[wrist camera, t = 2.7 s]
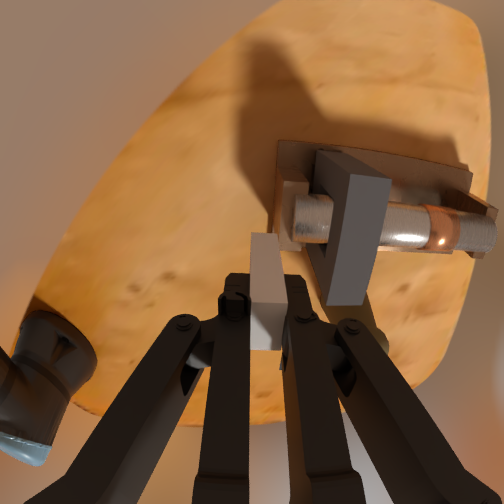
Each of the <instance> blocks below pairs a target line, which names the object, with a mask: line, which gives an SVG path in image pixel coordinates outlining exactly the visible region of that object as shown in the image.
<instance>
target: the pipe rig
mask: <svg viewBox="0 0 504 504" xmlns="http://www.w3.org/2000/svg"><path fill="white" fill-rule="evenodd" d="M317 150H322V151H331V152H340V153H347V154H349V155H351V156H353V157H354V158H356V159H358V160H360V161H362V162H363V163H365V164H367V165H369V166H370V167H372V168H374V169H376V170H377V171H379V172H381V173H382V174H384V175H386V176H387V177H389V178H391V179H392V184H391V189H390V195H389V200H388V205H387V210H386V215H385V219H384V224H383V229H382V233H381V237H380V242H379V246H378V251H400V252H421V253H441V254H452V252H453V250H458V251H465V252H466V253H467V254H468V255H469V256H470V257H471V258H479V259H483V257H484V255H485V252H489V251H490V250H491V249H492V248H493V247H494V245H495V243H496V240H497V226H496V223H495V220H496V217H497V213H498V209H497V208H495V207H493V206H492V205H490V204H489V203H487V202H485V201H484V200H482V199H480V198H478V197H477V196H475V195H473V194H471V193H470V192H469V191H470V187H471V182H472V177H473V173H472V172H470V171H467V170H463V169H459V168H455V167H451V166H447V165H443V164H439V163H435V162H430V161H426V160H421V159H416V158H411V157H406V156H401V155H396V154H390V153H385V152H379V151H373V150H366V149H360V148H353V147H345V146H337V145H329V144H320V143H310V142H300V141H287V140H278V152H277V167H276V181H275V195H274V208H273V221H272V233H274V234H277V236H278V242H279V248H280V250H281V251H301V248H302V247H306V243H326V244H328V238H329V232H330V225H331V219H332V213H333V206H334V199H333V198H332V197H331V196H330V195H321V194H312V190H313V181H314V172H315V162H316V152H317Z"/></svg>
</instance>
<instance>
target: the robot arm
mask: <svg viewBox="0 0 504 504" xmlns="http://www.w3.org/2000/svg"><path fill="white" fill-rule="evenodd" d="M281 346H282V357H281V363H280V369H279V370H282V376H283V389H284V402H285V416H286V429H287V444H288V460H289V476H290V502H289V504H366V500H365V494H364V488H363V483H362V479H361V476H360V474H359V473H358V472H357V471H355V470H354V469H353V468H352V465H351V460H350V454H349V449H348V444H347V439H346V434H345V429H344V423H343V419H342V414H341V409H340V404H339V400H338V397H339V399H340V401H341V403H342V405H343V407H344V409H345V411H346V413H347V415H348V416H349V418H350V420H351V422H352V424H353V426H354V428H355V430H356V432H357V433H358V436H359V437H360V439H361V441H362V443H363V445H364V447H365V449H366V451H367V453H368V455H369V457H370V459H371V461H372V463H373V464H374V466H375V468H376V470H377V472H378V474H379V476H380V478H381V480H382V482H383V484H384V486H385V488H386V490H387V492H388V494H389V496H390V497H391V499H392V501H393V503H394V504H502V501H501V498H500V496H499V495H498V494H497V493H495V492H494V491H493V490H492V489H490V488H489V487H488V486H486V485H485V484H484V483H482V482H481V481H480V480H478V479H477V478H476V477H474V476H473V475H472V474H471V473H469V472H468V471H467V470H465V469H464V467H463V466H462V464H461V462H460V461H459V459H458V458H457V456H456V454H455V453H454V451H453V450H452V448H451V447H450V445H449V443H448V442H447V441H446V439H445V437H444V436H443V434H442V433H441V431H440V430H439V428H438V427H437V425H436V424H435V422H434V421H433V419H432V418H431V416H430V415H429V413H428V412H427V410H426V409H425V407H424V406H423V405H422V403H421V402H420V400H419V399H418V397H417V396H416V394H415V393H414V392H413V390H412V389H411V387H410V386H409V384H408V383H407V382H406V380H405V379H404V377H403V376H402V375H401V373H400V372H399V370H398V369H397V368H396V366H395V365H394V363H393V362H392V361H391V359H390V358H389V357H388V355H387V354H386V352H385V351H384V350H383V348H382V347H381V346H380V344H379V343H378V342H377V340H376V339H375V338H374V336H373V335H372V334H371V332H370V331H369V330H368V328H367V327H366V326H365V325H364V324H363V323H362V322H361V321H359V320H357V319H353V318H345V319H342V320H340V321H339V322H338V324H337V325H335V324H330V323H327V322H324V321H322V320H320V319H319V317H318V315H317V313H315V312H314V311H313V309H312V305H311V301H310V297H309V293H308V289H307V285H306V281H305V280H304V279H303V278H302V277H301V276H300V275H289V274H283V267H282V261H281V254H280V248H279V242H278V236H277V234H274V233H252V232H251V252H250V273H249V274H246V273H230V274H229V275H228V276H227V277H226V279H225V286H224V292H223V293H222V294H221V295H220V296H219V298H218V315H217V316H216V317H214V318H212V319H209V320H205V321H199V319H198V318H197V317H195V316H193V315H190V314H181V315H177V316H175V317H173V318H172V319H171V320H170V321H169V322H168V323H167V325H166V326H165V327H164V329H163V330H162V332H161V333H160V334H159V336H158V337H157V339H156V340H155V342H154V343H153V344H152V346H151V347H150V349H149V350H148V351H147V353H146V354H145V356H144V357H143V359H142V360H141V361H140V363H139V364H138V366H137V367H136V369H135V370H134V372H133V373H132V374H131V376H130V377H129V379H128V380H127V382H126V383H125V385H124V386H123V387H122V389H121V390H120V392H119V393H118V395H117V396H116V398H115V399H114V401H113V402H112V404H111V405H110V407H109V408H108V410H107V411H106V413H105V414H104V416H103V417H102V419H101V420H100V421H99V423H98V425H97V426H96V428H95V429H94V431H93V432H92V434H91V435H90V437H89V438H88V440H87V441H86V443H85V444H84V446H83V447H82V449H81V450H80V452H79V453H78V455H77V457H76V458H75V460H74V461H73V463H72V464H71V466H70V467H69V469H68V471H67V472H66V474H65V475H64V476H62V477H61V478H60V479H58V480H57V481H55V482H54V483H52V484H51V485H50V486H48V487H47V488H45V489H44V490H42V491H41V492H40V493H38V494H36V495H35V496H33V497H32V498H30V499H29V500H27V501H26V502H25V503H24V504H137V502H138V500H139V498H140V496H141V494H142V492H143V490H144V488H145V486H146V484H147V482H148V480H149V479H150V477H151V474H152V473H153V471H154V468H155V467H156V464H157V463H158V461H159V459H160V457H161V455H162V453H163V451H164V449H165V447H166V445H167V443H168V441H169V439H170V437H171V435H172V433H173V431H174V429H175V427H176V425H177V423H178V421H179V419H180V417H181V415H182V413H183V411H184V409H185V407H186V405H187V403H188V401H189V399H190V397H191V395H192V393H193V391H194V389H195V387H196V385H197V383H198V381H199V379H200V377H201V375H202V373H203V371H204V368H205V367H210V366H211V371H210V379H209V386H208V394H207V402H206V410H205V418H204V426H203V434H202V443H201V451H200V460H199V469H198V474H197V475H196V477H195V481H194V487H193V496H192V504H249V411H250V350H281ZM96 366H97V358H96V354H95V352H94V350H93V348H92V346H91V345H90V343H89V342H88V340H87V339H86V338H85V337H84V336H83V335H82V334H81V333H80V332H79V331H78V330H77V329H76V328H75V327H74V326H73V325H71V324H70V323H69V322H67V321H66V320H64V319H62V318H61V317H59V316H57V315H55V314H52V313H50V312H46V311H34V312H32V313H30V314H29V315H28V316H27V318H26V319H25V320H24V322H23V323H22V325H21V328H20V335H19V338H18V340H17V343H16V347H15V351H14V354H13V355H12V357H11V359H10V358H9V356H8V355H7V354H6V353H5V351H4V350H3V349H2V348H1V346H0V450H1V451H3V452H5V453H7V454H8V455H10V456H12V457H14V458H16V459H18V460H20V461H22V462H24V463H27V464H29V465H32V466H40V465H42V464H43V463H44V462H45V460H46V458H47V456H48V453H49V451H50V449H52V444H53V441H54V438H55V436H56V433H57V430H58V428H59V425H60V423H61V420H62V418H63V415H64V413H65V411H66V408H67V406H68V404H69V401H70V399H71V397H72V396H73V395H74V394H75V393H76V392H77V391H78V390H79V389H80V388H81V387H82V386H83V384H84V383H85V382H87V381H88V380H89V379H90V378H91V377H92V375H93V373H94V371H95V369H96Z"/></svg>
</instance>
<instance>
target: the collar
mask: <svg viewBox="0 0 504 504" xmlns="http://www.w3.org/2000/svg"><path fill="white" fill-rule="evenodd" d="M391 184H392V179H391V178H389V177H387V176H386V175H384V174H382V173H381V172H379V171H377V170H376V169H374V168H372V167H370V166H369V165H367V164H365V163H363V162H362V161H360V160H358V159H356V158H354V157H353V156H351V155H349V154H347V153H340V152H331V151H322V150H317V152H316V162H315V172H314V181H313V190H312V194H321V195H330V196H331V197H332V198H333V199H334V206H333V213H332V219H331V225H330V232H329V238H328V244H326V243H306V249H307V252H308V254H309V257H310V260H311V263H312V266H313V269H314V271H315V274H316V277H317V280H318V283H319V286H320V289H321V292H322V295H323V298H324V301H325V304H326V306H342V305H362V304H363V300H364V297H365V294H366V290H367V287H368V284H369V280H370V276H371V273H372V269H373V265H374V262H375V258H376V254H377V250H378V246H379V242H380V237H381V233H382V229H383V224H384V219H385V215H386V210H387V205H388V200H389V195H390V189H391Z"/></svg>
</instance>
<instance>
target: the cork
mask: <svg viewBox="0 0 504 504" xmlns="http://www.w3.org/2000/svg"><path fill="white" fill-rule="evenodd" d="M320 302H321V307H322V308H323V310H324V312H325V314H326V316H327V318H328V320H329V321H330V323H331V324H335V325H337V324H338V322H339V321H340V320H342V319H345V318H353V319H357V320H359V321H361V322H362V323H363V324H364V325H365V326H366V327H367V328H368V330H369V331H370V332H371V334H372V335H373V336H374V338H375V339H376V340H377V342H378V343H379V344H380V346H381V347H382V348H383V350H384V351H385V352H386V354H387V355H388V352H389V342H388V340H387V338H386V336H385V334H384V333H383V332H382V331H381V330H380V329H378V328H377V326H376V323H375V319H374V316H373V312H372V309H371V305H370V302H369V299H368V295H367V292H366V294H365V297H364V300H363V304H362V305H342V306H326V304H325V301H324V298H323V295H322V294H321V299H320Z"/></svg>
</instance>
